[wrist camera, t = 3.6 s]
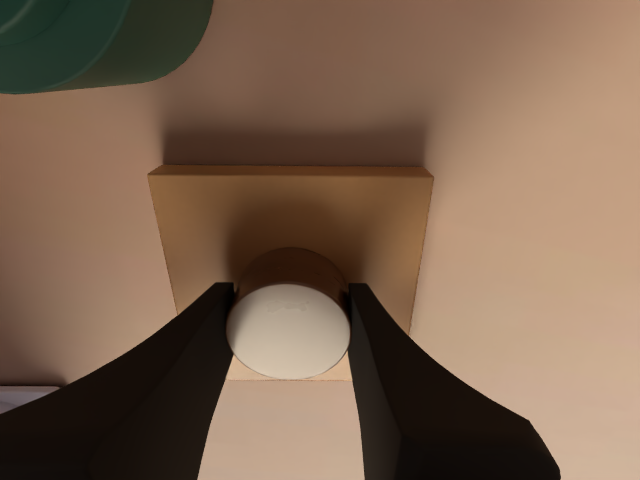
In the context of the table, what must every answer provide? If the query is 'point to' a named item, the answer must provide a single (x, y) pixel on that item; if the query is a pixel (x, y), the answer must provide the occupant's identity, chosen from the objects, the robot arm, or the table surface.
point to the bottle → (95, 42)
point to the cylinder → (290, 315)
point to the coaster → (293, 229)
